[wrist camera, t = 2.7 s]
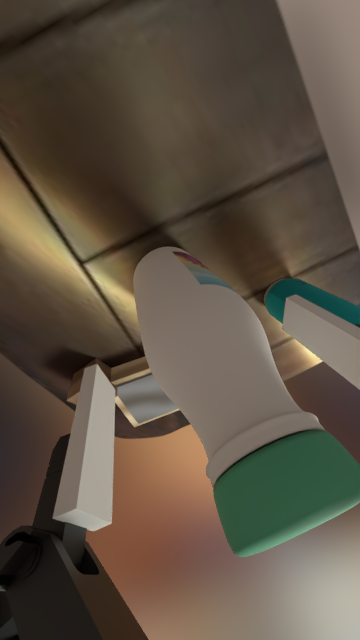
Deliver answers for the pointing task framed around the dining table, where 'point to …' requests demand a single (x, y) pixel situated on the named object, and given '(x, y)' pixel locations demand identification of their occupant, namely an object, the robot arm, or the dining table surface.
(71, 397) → the tan wooden block
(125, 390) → the wooden picture frame
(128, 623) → the robot arm
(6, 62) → the dining table surface
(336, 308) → the beverage can
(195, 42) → the dining table surface
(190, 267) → the milk bottle
